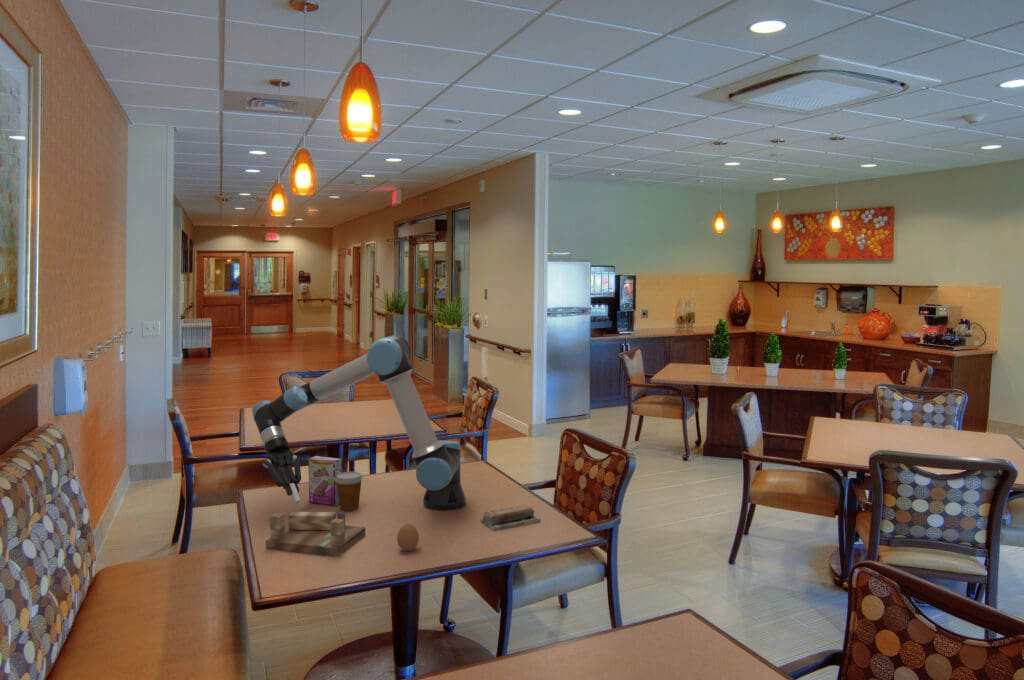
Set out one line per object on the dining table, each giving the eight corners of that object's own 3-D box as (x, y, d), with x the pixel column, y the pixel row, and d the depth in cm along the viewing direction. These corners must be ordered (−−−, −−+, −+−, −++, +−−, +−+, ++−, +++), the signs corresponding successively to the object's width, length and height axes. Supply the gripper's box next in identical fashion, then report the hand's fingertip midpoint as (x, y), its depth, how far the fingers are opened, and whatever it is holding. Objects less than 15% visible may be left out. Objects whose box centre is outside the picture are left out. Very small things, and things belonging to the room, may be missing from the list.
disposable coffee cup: (366, 504, 256) (366, 471, 254) (358, 513, 246) (357, 479, 245) (340, 503, 257) (340, 470, 255) (331, 512, 247) (330, 478, 246)
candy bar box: (308, 503, 257) (307, 458, 255) (316, 499, 261) (315, 455, 260) (335, 506, 253) (334, 461, 251) (342, 502, 258) (342, 458, 256)
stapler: (493, 517, 229) (479, 508, 238) (493, 532, 230) (479, 522, 239) (540, 509, 238) (526, 500, 247) (540, 523, 238) (526, 514, 247)
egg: (403, 545, 218) (403, 519, 217) (422, 547, 216) (422, 521, 215) (393, 553, 212) (393, 526, 211) (413, 555, 210) (412, 528, 209)
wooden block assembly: (365, 534, 226) (364, 505, 225) (337, 556, 209) (337, 524, 208) (298, 527, 232) (297, 498, 231) (265, 548, 215) (264, 517, 214)
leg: (336, 526, 226) (335, 512, 225) (332, 530, 222) (332, 516, 222) (292, 525, 226) (292, 511, 226) (288, 529, 223) (288, 515, 222)
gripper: (290, 445, 248) (312, 504, 237) (253, 451, 239) (274, 512, 228) (296, 433, 243) (319, 492, 232) (259, 438, 234) (281, 500, 224)
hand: (297, 502), depth 230 cm, fingers closed
